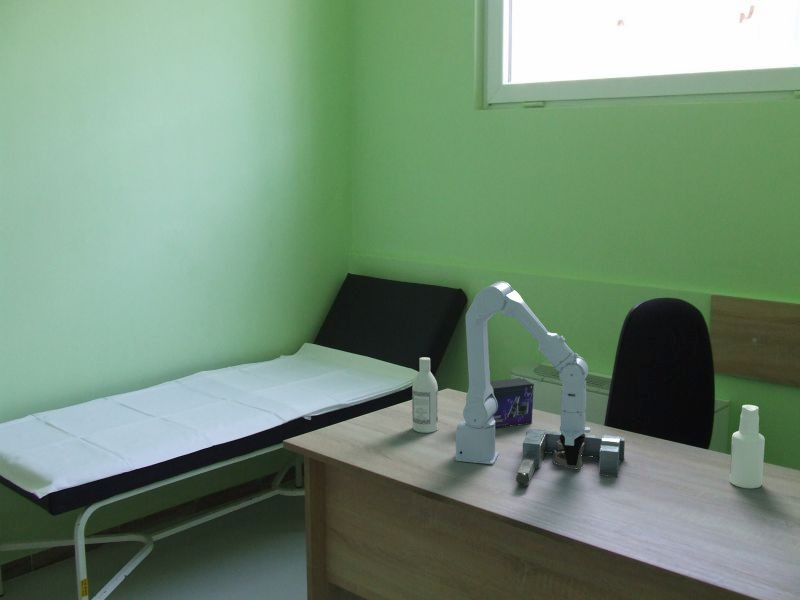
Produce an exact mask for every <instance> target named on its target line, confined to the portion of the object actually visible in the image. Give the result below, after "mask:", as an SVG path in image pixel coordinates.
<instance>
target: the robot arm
mask: <svg viewBox="0 0 800 600" xmlns="http://www.w3.org/2000/svg"><path fill="white" fill-rule="evenodd" d="M500 311H501V313H500V315H501V316H503V317H504V316H505V317H506V316H507V317H510V318H511V317H512V318H515V320H517V321H518V323H519V324H520V325H521V326H523V327H524V328H525V330H526V331H527V332H528V333H529V334H530V335H531V336H532V337H533V338H534V339H535V340H536V341H537V342H538V347H537V348H538V349H537V350H538V351H539V352H540V353H541V354H542V355H543V357H544V358H545V359H546V360H547V361H548V362H549V363H550V365H551V366H552V367H553V368H554V369H555V370H556V371H558V372H559V374H558V377H559V381H561V383H562V384H561V393H560V394H561V397H560V425H559V432H561V433H562V434H561V435H560V441H561V443H562V445H563V448H564V451H565V456H566V462H567V465H574V466H576V464H577V461H578V456H579V451H580V448H581V446H582V444H583V442H584V439H585V435H586V433H589V434H590V432H591V427H589V426H586V419H587V418H586V413H587V380H586V378H587V376H588V374H589V372H590V371H589V370H590V369H589V365H588V363H587V362H586V360H585V358H584V357H582V356H580V355H579V354H578V353H577V352H574V351H573V350H572V349H571V348H570V346H568V344H567V343H566V342H565V341H566V338H565V336H564V335H561V336H560V335H559V334H558V333H556V332H550V331H548V329H547V328H546V327H545V326H544V324H543V323H542V322H541V321H540V319H539V318H538V317H537V315H535V313H534V312H533V311H532V309H531V308H530V307H529V306H528V304H527V303H526V301H524V299H523V298H522V296H521V295H520V294H519V292H517V291H516V289H515V290H514V289H513V287H512V286H511V285H510V284H509V283H508V282H507V281H503V280H498V281H495V282H494V283H492V284H491V285H489V286H486V287H484V288H483V289H482V290H480V291H479V292H478V293H477V294H475V295H474V299H473V301H472V303H471V305H470V307H469V308H468V310H467V312H466V313H465V332H466V353H467V370H468V390H467V393H466V396H465V405H464V408H463V411H462V415H463V419H464V421H459V422H458V423H457V426H456V433H455V461H457V462H464V463H465V462H466V463H474V464H475V463H476V464H484V465H494V464H495V462H496V460H497V458H498V457H499V454H500V451H496V428H495V420H494V417H493V415H494V414H495V413H496V411H497V408H498V403H497V400H496V398H495V396H494V393H493V387H492V386H491V384H490V381H491V372H490V370H491V369H490V354H489V353H490V351H489V333H488V332H489V331H488V321H489V320H490V319H491V318H492V317H493V316H494V315H495V314H496V313H499V312H500Z"/></svg>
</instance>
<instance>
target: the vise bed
mask: <svg viewBox="0 0 800 600" xmlns="http://www.w3.org/2000/svg"><path fill="white" fill-rule="evenodd" d="M529 429H530V428H528V429H526V431H525V436H526V435H527V433H528V431H529ZM561 434H562V433H561V431H549V430H546V445H545V452H552V453H551V454H554V450H555V451H556V452H557V453H558V452H563V451H564V450H563V449H560V450H559V449H558V441H560V435H561ZM625 443H626V438H625V437H621V435H620V436H619V435H608V434H603V435H597V434H595V435H593V434H585V439H584V446H583V448H584V450H583V454H582V457H585V456H593V457H592V458H596V457H600V458H599V467H598V468H599V473H598V474H601V475H600V476H607V475H608V476H609V477H618V473H619V466H620V461H624V460H625V449H626V448H625V447H626V446H625V445H626V444H625Z"/></svg>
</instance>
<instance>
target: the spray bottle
mask: <svg viewBox="0 0 800 600" xmlns="http://www.w3.org/2000/svg"><path fill="white" fill-rule="evenodd" d="M759 410H760V409H759V406H757V405H755V404H754V405H752V404H743V405H742V406H741V414H740V420H739V428H738V431H737V430H736V431H735V432H733V433H732V434H731V435H732V436H731V447H730V449H731V450H730V460H729V461H730V463H729V464H730V465H729V482H730V483H731V485H733V486H736V487H739V488H741V489H758V488H760V487H762V483H763V472H764V457H765V446H766V445H765V444H766V443H765V442H766V439H765V436H764V435H762V433H760V415H759V412H760V411H759Z"/></svg>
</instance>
